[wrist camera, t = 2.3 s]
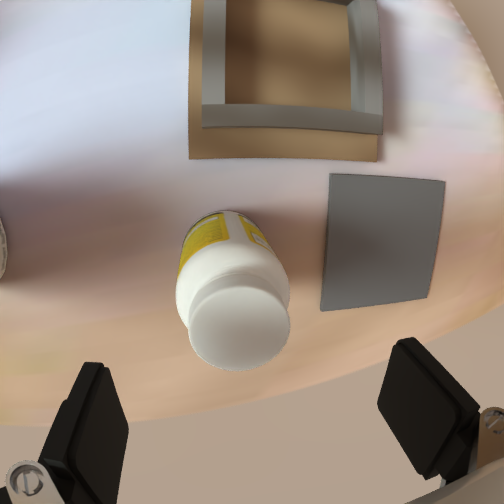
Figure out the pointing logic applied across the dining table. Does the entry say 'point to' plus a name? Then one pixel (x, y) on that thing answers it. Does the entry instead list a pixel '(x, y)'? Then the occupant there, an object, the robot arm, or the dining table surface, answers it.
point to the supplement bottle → (232, 293)
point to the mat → (379, 240)
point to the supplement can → (2, 250)
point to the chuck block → (285, 79)
